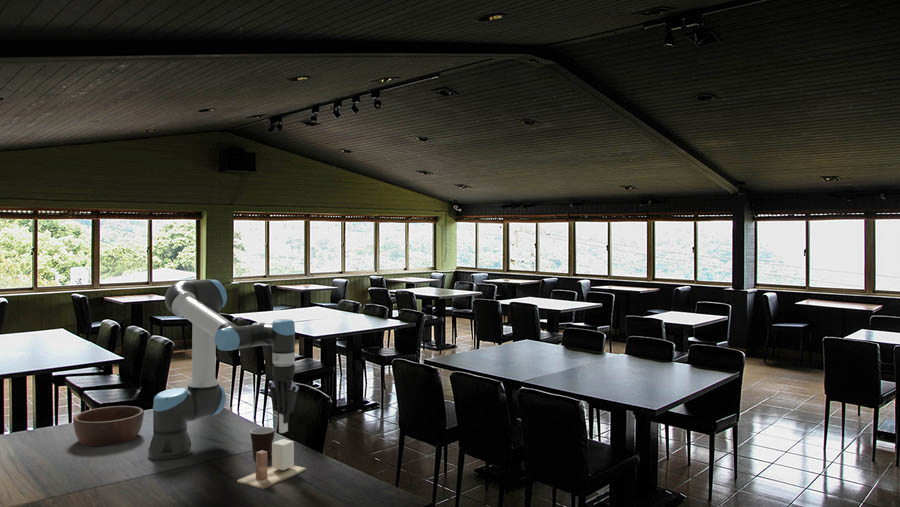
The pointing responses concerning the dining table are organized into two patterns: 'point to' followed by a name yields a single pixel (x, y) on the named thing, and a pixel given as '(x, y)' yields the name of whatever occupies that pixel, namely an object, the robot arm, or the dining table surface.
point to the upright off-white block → (282, 454)
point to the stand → (268, 473)
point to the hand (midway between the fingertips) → (283, 431)
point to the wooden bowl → (108, 425)
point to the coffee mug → (262, 440)
